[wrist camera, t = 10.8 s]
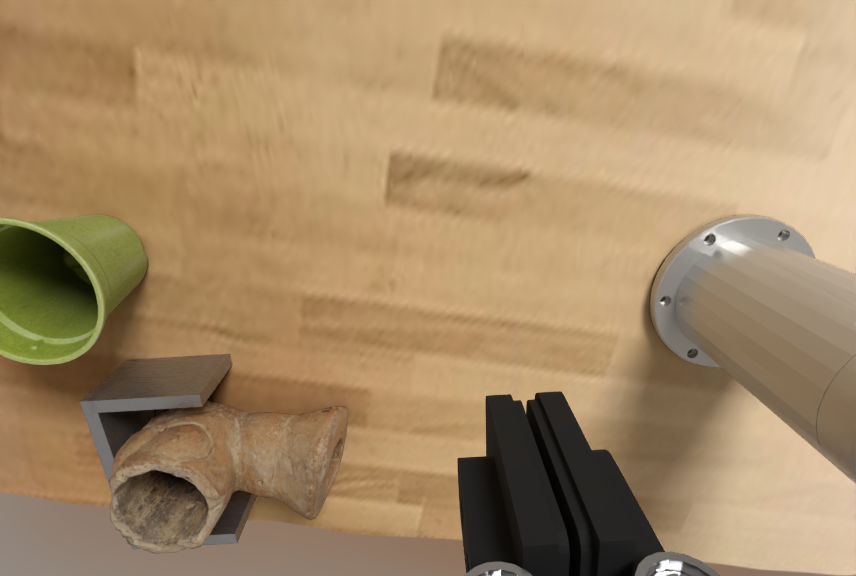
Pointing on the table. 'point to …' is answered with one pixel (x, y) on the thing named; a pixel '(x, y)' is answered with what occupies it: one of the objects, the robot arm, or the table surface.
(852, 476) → the robot arm
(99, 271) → the plant pot
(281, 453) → the pipe
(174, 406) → the gray channel bracket
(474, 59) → the table surface
